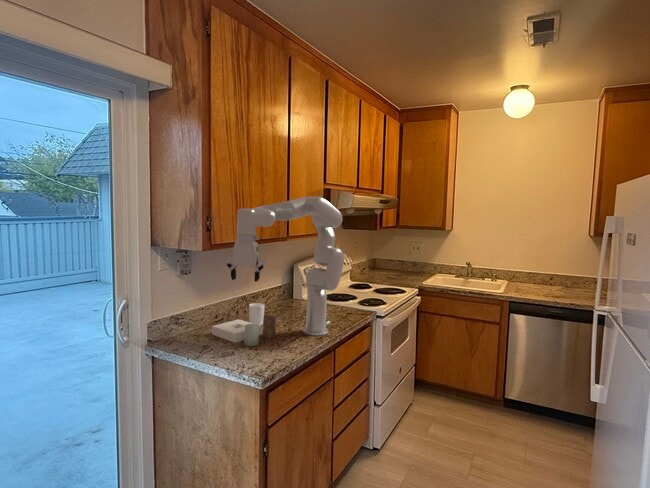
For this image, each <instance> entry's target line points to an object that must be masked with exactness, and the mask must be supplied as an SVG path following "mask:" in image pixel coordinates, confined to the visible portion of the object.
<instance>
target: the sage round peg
mask: <svg viewBox="0 0 650 488" xmlns="http://www.w3.org/2000/svg"><path fill="white" fill-rule="evenodd" d="M259 337H260V335H259V325H257V324H247V325H245V339H244V340H243V341H244V342H243V344H244V346H247V347H256V346H258V345H259Z"/></svg>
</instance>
